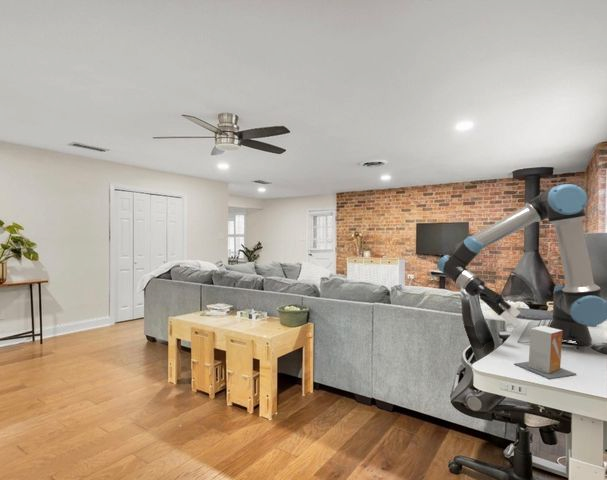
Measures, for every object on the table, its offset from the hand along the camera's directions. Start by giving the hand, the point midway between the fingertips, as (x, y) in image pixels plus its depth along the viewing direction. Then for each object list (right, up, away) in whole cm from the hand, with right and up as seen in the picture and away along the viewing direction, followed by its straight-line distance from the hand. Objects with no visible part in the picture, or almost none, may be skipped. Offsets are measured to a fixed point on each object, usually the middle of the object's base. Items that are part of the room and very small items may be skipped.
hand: (518, 320), depth 130 cm
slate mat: (-1, -13, -15) cm, 20 cm away
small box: (-1, -13, -15) cm, 20 cm away
